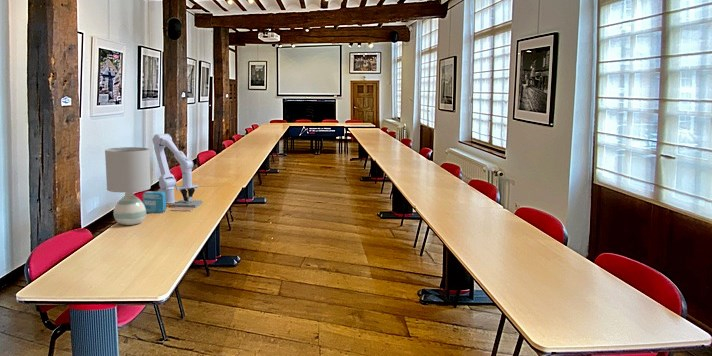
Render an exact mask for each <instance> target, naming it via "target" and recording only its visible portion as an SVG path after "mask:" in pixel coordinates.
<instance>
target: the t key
mask: <svg viewBox="0 0 712 356" xmlns="http://www.w3.org/2000/svg"><path fill="white" fill-rule="evenodd" d="M182 200H184V198H183V197H182ZM193 200H194V199H193V196H188V194H187V201H186V203H190V201H193Z"/></svg>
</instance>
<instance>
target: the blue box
mask: <svg viewBox="0 0 712 356" xmlns="http://www.w3.org/2000/svg"><path fill="white" fill-rule="evenodd" d="M142 202H143V204H144V206H145V208H146V214H147V213H150V214H152V213H153V214H162V213H164V212H165V211H166V210H167V203H166V194H165V193H164V192H158V191H152V190H151V191H149V190H146V192H144V193H142Z"/></svg>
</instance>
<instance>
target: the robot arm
mask: <svg viewBox="0 0 712 356" xmlns="http://www.w3.org/2000/svg"><path fill="white" fill-rule="evenodd" d="M151 139H152V140H151V141H152V143H153V150H154V152H155V153H154V154H155V156H156V160H157V165H158V167H159V171H160V172H159V173H160V174H161V175H160V176H159V177H158V182H159V183H158V185H159V187H160V188H158V191H157V192H164V193H165V194H166V205H167V204H168V205H169V204H171V205H173V204H174V203H176V202H177V200H176V199H175V191H177V192H179V191H180V194H181V195H182V199H183V198H184V201H187V195H188V196H192V197H193V195H194V193H195V191H196V190H195V189H199V184H193V171H192V170H193V168H194V165H195V164H194V161H193V160H192V159H189V158H188V157H187V155H186V154H185V153H184V152H183V151H182V150H179V149H178V147H177V146H176V144H175V143H174V142H173V138H172V136H171V134H169V133H162V134H159V133H158V134H154V135H153V137H152V138H151ZM166 147H167V148H168V149H169V150H170V151H171V152H172V153H173V154H174V155H173V157H174V158H175V159H176V161H177V162H178V163H179V168H180V170H181V173H182V175H181V177H182V179H181V180H182V181H181V182H182V185H181V186H177V179H176V178H175V175H174V174H172V173H171V171H170V168H169V164H168V162H167V157H166V153H165V148H166Z"/></svg>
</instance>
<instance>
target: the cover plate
mask: <svg viewBox="0 0 712 356" xmlns="http://www.w3.org/2000/svg"><path fill="white" fill-rule="evenodd" d="M201 205H203V199H201V200H200V199H199V200H198V199H197V200H196V199H193V201H190V203H186V201H184V200H183V199H179V200H178V201H176V202H174V203H173V204H172V209H173V208H175V207H190V208H195V209H196V208H198V207H199V206H201Z"/></svg>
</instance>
